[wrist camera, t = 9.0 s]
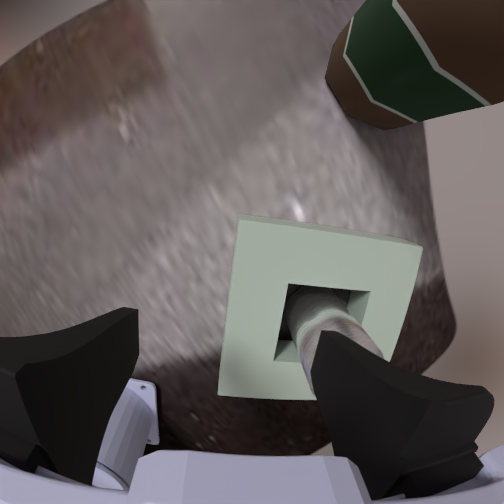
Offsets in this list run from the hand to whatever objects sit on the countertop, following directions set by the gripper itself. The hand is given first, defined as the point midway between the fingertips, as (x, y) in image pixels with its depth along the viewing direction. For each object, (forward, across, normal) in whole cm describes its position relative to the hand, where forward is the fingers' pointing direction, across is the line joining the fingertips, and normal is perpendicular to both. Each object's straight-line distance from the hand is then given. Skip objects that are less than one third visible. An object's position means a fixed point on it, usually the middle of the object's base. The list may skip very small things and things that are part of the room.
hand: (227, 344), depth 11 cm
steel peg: (+9, -6, +2) cm, 11 cm away
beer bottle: (+10, -8, -15) cm, 20 cm away
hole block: (+9, -6, +2) cm, 11 cm away
